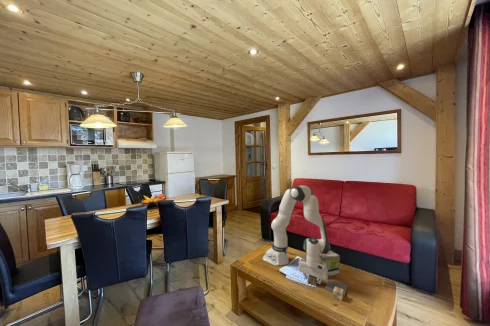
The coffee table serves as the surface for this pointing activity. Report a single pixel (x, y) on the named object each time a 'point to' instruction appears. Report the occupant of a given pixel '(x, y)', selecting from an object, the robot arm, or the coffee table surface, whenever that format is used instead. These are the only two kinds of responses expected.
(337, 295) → the maple cube
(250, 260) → the coffee table surface
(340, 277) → the coffee table surface
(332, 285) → the slate coaster
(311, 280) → the walnut cube
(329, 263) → the tea box
